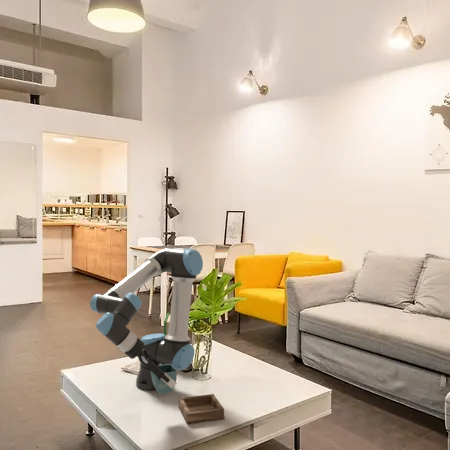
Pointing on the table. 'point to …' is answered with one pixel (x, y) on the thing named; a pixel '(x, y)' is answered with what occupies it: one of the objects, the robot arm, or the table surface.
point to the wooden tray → (201, 409)
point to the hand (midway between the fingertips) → (171, 380)
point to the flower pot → (160, 384)
